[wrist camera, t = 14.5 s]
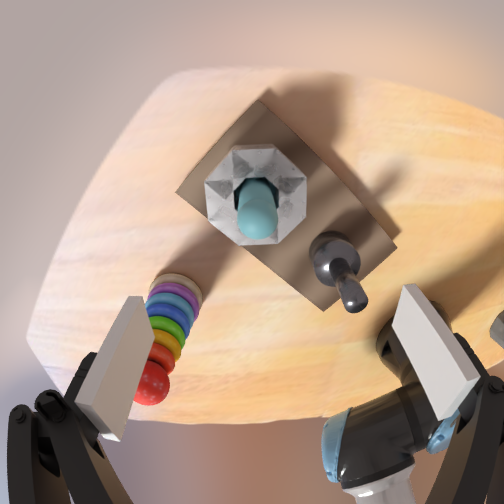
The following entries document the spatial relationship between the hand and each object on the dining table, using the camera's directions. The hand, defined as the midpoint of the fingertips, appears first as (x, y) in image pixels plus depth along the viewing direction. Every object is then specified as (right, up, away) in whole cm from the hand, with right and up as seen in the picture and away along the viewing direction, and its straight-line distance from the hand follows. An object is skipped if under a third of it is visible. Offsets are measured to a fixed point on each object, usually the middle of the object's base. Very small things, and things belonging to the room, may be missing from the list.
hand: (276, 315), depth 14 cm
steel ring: (-1, +10, +15) cm, 18 cm away
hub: (-1, +11, +18) cm, 21 cm away
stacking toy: (-12, -3, +28) cm, 30 cm away
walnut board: (+4, +8, +22) cm, 24 cm away
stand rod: (+9, +3, +22) cm, 24 cm away
